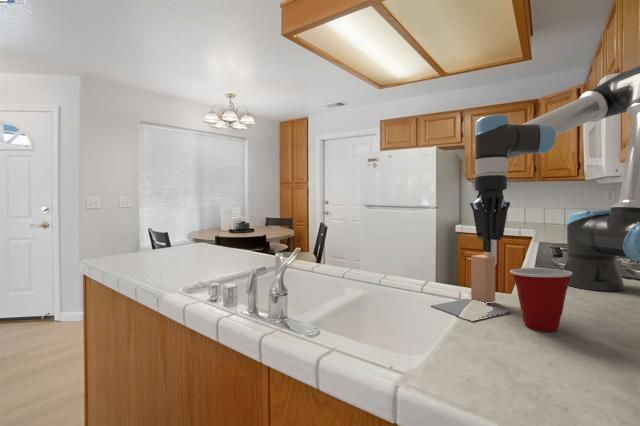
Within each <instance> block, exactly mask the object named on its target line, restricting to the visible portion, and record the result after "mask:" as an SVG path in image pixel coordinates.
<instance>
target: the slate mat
mask: <svg viewBox="0 0 640 426" xmlns="http://www.w3.org/2000/svg"><path fill="white" fill-rule="evenodd" d="M471 301H472V300H471V299H469V298H464V299H459V300H458V299H457V300H454V301H453V300H451V301H447V302H442V303H438V304H432V305H430V308H432V309H434V310H437V311H439V312H443V313H445V314H448V315H451V316H453V317H457V316H459V315H460V314H461V312H462V311H463V309H464V308H465V307H466V306H467V305H468V304H469V303H470V302H471ZM508 312H510V313H511V311H510V310H507V309H503V308H501V307H497V306H494V307H493V310H492V311H490V312H487V313H488V314H486V316H482V318H484V317H489V316H494V315H499V314H503V313H508ZM508 314H509V313H508ZM457 318H458V317H457ZM479 319H480V318H479Z"/></svg>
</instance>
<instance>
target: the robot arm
mask: <svg viewBox="0 0 640 426" xmlns="http://www.w3.org/2000/svg"><path fill="white" fill-rule="evenodd" d="M624 113H625V114H626V113H627V114H629V115H630V116H631V117H632V120H631V126H630V132H629V137H628V138H629V139H628V143H627V151H626V155H625V157H626V158H625V164H624V170H623V176H622V182H621V186H620V193H619V201H618V202H616V203H614V204H612V205H611V206H610V209H598V210H597V209H596V210H585V211H577V212H572V213H569V215H568V217H567V224H566V238H567V239H566V241H567V242H566V244H567V245H566V249H567V252H566V253H567V256H566V257H567V258H566V261H565V263H564V265H563V266H564V267H563V268H562V270H566V271H571V272H572V275H571V276H570V279H569V283H568V286H569V287H573V288H578V289H585V290H592V291H601V292H602V291H603V292H617V291H619V292H620V291H622V290H624V286H625V285H624V280H623V276H622V275H621V272H620V269H619V267H618V265H617V262H616V260H617V258H616V257H620V258H621V257H622V258H628V259H632V260H636V261H640V65H637V66H635V67H632V68H631V69H628V70H625V71H623V72H621V73H618V74H617V75H615V76H613V77H611V78H609V79H608V80H606V81H605V82H603V83H601V84H599V85H598V86H595V87H593V88H591V89H590V90H588V91H585V92H583V93H582V94H581V95H580V96H579V98H578V99H575V100H573V101H571V102H569V103H567V104H564V105H561V106H560V107H558V108H555V109H552V110H550V111H548V112H546V113H543V114H542V115H540V116H537V117H535V118H533V119H531V120H529V121H527V122H523V123H522V124H512V123H509V121H508V116H507V115H505V114H490V115H485V116H481V117H480V118H478V119H477V120H476V122H475V123H476V124H475V131H474V132H475V133H474V138H475V139H474V141H475V142H474V145H475V149H474V150H475V152H474V153H475V163H474V164H475V175H476V177H475V178H474V190H475V191H477V192H478V193H477V195H476V200H474V201H471V202H470V203H469V205H470V208H471V210H472V214H473V220H474V226H475V231H476V237H477V238H478V239H479V240H482V250H483V255H487V256H493V257H495V266H496V265H497V261H498V260H497V258H498V257H497V251H498V241H501V240H502V238H503V237H504V234H505V227H506V222H507V215H508V210H509V208H510V205H511V203H510V201H506V200H505V199H504V197H505V196H504V194H503V193H504V192H503V191H506V190H507V189H508V188H507V187H508V177H507V175H506V174H508V159H510V158H516V157H520V156H523V155H527V154H528V155H529V154H534V155H538V154H546V153H548V152H549V151H551V150H552V148H553V147H554V145H555V143H556V139H557V138H556V137H557V136H560V135H561V134H564V133H565V132H568V131H570V130H572V129H575V128H577V127H579V126H582V125H584V124H586V123H588V122H589V123H590V122H592V123H593V122H598V121H601V120H603V119H606V118H610V117H612V116H616V115H621V114H624Z"/></svg>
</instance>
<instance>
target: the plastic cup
mask: <svg viewBox="0 0 640 426" xmlns="http://www.w3.org/2000/svg"><path fill="white" fill-rule="evenodd" d="M509 272H510V274H511V275H512V277H513V279H514V283H515V285H516V286H515V287H516V290H517V296H518V301H519V307H520V310H521V314H522V320H523V323H524V326H525V327H527V329H528V328H529V329H530V330H534V331H538V332H544V333H554V332H557V331H558V329H559V328H560V322H561V317H562V315H563V311H564V310H563V309H564V306H565V300H566V295H567V290H568V288H569V287H568V283H569V279H570V276H571V275H572V272H571V271H566V270H563V269H560V268H559V269H558V268H544V267H541V268H539V267H537V268H536V267H534V268H532V267H531V268H529V267H527V268H523V267H522V268H513V269H509Z"/></svg>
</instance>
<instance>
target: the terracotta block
mask: <svg viewBox="0 0 640 426" xmlns="http://www.w3.org/2000/svg"><path fill="white" fill-rule="evenodd" d="M470 256H471V257H470V259H471V260H470V261H471V264H470V267H471V269H470V270H471V271H470V272H471V273H470V275H471V278H470V279H471V281H470V282H471V283H470V285H471V287H470V289H471V290H470V291H471V292H470V294H471V295H470V298H471V299H470V300H477V301H481V302H484V303H486V302H493V301H495V302H496V265H495V257H493V256H487V255H484V254H477V255H470Z"/></svg>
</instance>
